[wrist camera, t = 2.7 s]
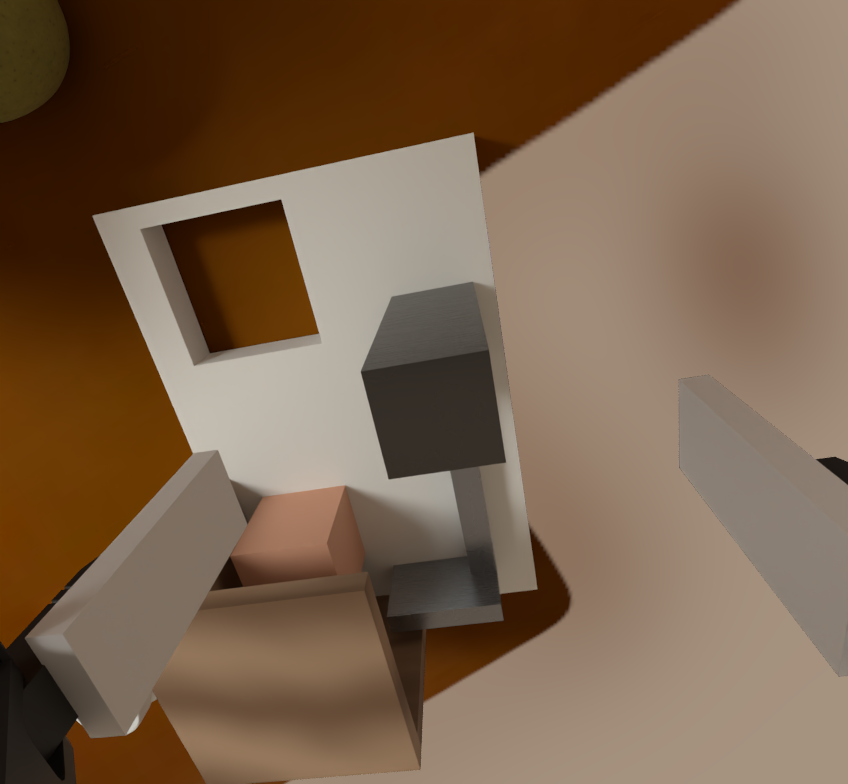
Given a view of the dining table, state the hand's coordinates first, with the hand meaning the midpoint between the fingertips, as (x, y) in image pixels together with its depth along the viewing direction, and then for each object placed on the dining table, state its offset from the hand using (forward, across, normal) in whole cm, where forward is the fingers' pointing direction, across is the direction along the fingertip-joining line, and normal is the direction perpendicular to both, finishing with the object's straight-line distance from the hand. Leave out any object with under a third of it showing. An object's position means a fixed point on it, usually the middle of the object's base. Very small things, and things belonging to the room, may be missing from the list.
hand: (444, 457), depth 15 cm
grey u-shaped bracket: (+12, -2, -6) cm, 14 cm away
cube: (+12, -10, -10) cm, 19 cm away
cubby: (+12, -10, -12) cm, 19 cm away
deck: (+14, -6, -4) cm, 16 cm away
